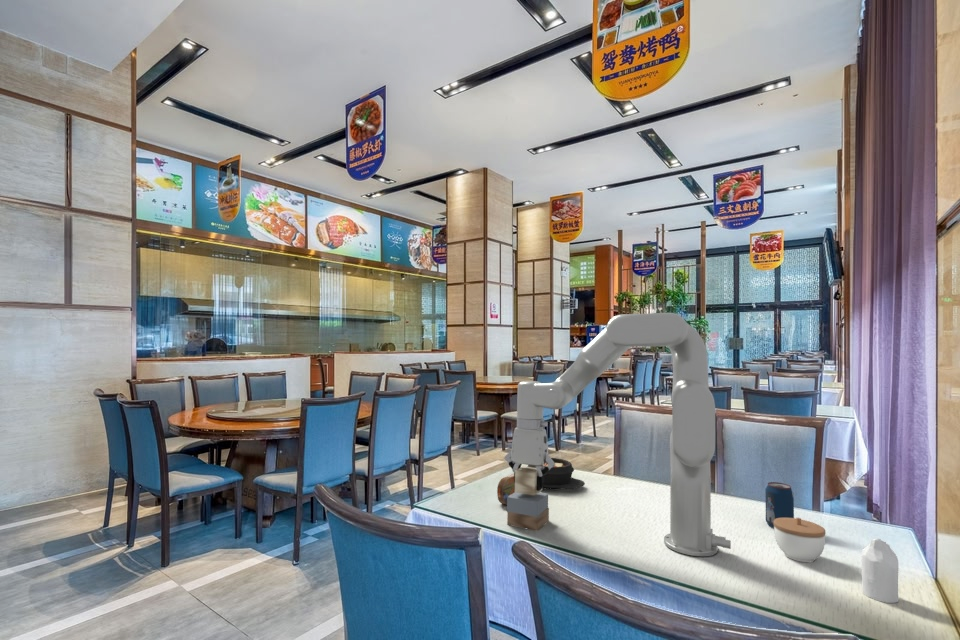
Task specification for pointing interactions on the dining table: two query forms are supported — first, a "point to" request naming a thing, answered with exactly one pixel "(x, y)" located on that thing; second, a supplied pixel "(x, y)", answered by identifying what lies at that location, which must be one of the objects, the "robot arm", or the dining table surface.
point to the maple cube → (526, 480)
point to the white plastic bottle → (880, 572)
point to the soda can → (778, 502)
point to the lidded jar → (799, 538)
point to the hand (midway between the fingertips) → (528, 487)
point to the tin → (505, 488)
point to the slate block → (527, 503)
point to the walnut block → (528, 520)
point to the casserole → (560, 476)
